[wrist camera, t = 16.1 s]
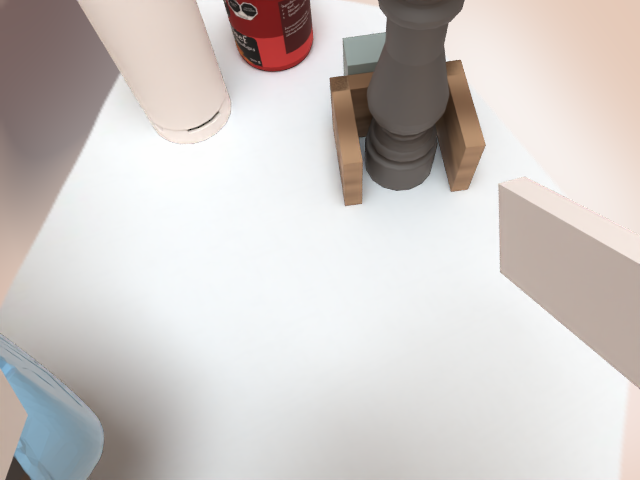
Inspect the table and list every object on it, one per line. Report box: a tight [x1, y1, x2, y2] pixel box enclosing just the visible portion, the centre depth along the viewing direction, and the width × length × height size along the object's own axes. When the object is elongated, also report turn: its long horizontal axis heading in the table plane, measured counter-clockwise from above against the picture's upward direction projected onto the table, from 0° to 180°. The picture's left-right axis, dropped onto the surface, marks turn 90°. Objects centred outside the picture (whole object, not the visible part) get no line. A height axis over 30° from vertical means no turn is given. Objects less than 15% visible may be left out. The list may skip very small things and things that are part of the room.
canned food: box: [223, 0, 313, 71], centre depth 49 cm, size 8×8×11 cm
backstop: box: [343, 32, 386, 76], centre depth 47 cm, size 3×8×8 cm, turn 97°
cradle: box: [330, 60, 486, 206], centre depth 45 cm, size 8×11×7 cm
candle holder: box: [365, 0, 464, 191], centre depth 36 cm, size 6×6×25 cm
